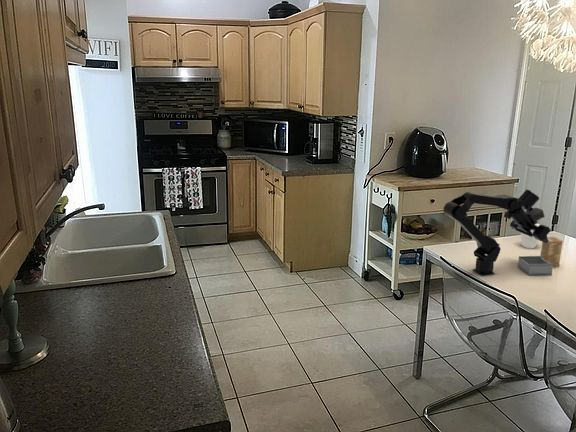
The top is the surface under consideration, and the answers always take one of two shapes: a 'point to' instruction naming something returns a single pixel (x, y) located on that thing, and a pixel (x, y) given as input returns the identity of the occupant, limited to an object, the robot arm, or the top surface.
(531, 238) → the cup
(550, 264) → the large crate
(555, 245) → the small crate
